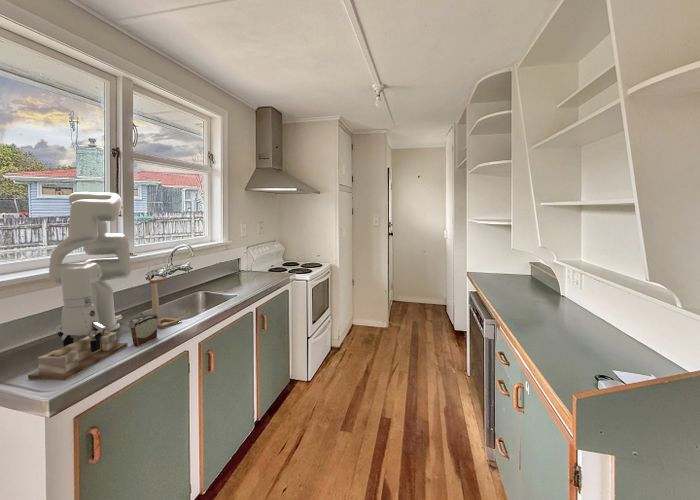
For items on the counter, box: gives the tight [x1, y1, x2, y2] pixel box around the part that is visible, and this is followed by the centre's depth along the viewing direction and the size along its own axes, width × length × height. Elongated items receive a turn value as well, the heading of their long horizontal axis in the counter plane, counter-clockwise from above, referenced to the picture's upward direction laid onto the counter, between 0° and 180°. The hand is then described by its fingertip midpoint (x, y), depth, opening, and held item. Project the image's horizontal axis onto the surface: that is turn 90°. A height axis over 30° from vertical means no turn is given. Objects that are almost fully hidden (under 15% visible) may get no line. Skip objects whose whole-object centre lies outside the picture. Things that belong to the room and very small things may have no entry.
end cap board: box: [27, 331, 128, 381], centre depth 113 cm, size 26×12×6 cm, turn 177°
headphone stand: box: [148, 276, 182, 330], centre depth 150 cm, size 10×11×22 cm
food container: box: [127, 313, 159, 348], centre depth 130 cm, size 12×6×10 cm, turn 168°
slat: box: [53, 332, 106, 361], centre depth 113 cm, size 18×2×6 cm, turn 178°
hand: (82, 350), depth 113 cm, fingers open, 9 cm apart
